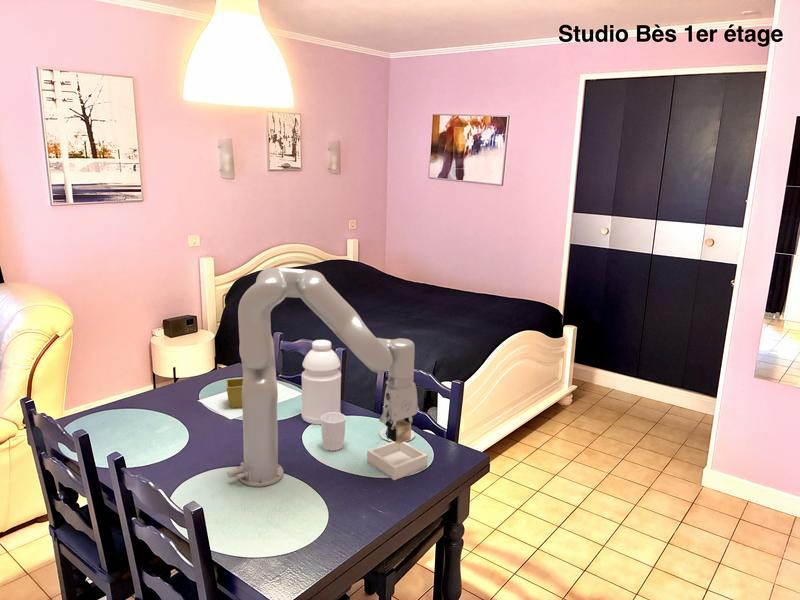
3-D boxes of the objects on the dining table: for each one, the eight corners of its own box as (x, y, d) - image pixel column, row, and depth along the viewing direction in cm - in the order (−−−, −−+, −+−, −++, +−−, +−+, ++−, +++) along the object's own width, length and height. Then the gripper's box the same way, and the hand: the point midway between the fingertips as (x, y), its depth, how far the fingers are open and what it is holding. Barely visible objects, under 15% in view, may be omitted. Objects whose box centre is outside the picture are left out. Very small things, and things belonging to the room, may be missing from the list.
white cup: (341, 453, 187) (341, 424, 185) (317, 450, 188) (317, 421, 186) (348, 442, 195) (348, 413, 192) (325, 439, 196) (325, 411, 194)
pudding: (404, 447, 193) (405, 432, 192) (372, 438, 199) (373, 423, 197) (420, 433, 204) (421, 419, 202) (390, 425, 209) (390, 411, 208)
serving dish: (394, 480, 172) (394, 467, 172) (367, 462, 182) (367, 450, 181) (427, 467, 181) (427, 455, 180) (399, 450, 190) (400, 439, 189)
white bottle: (323, 428, 203) (324, 351, 197) (293, 418, 210) (292, 343, 204) (348, 414, 215) (349, 341, 209) (318, 405, 222) (319, 334, 216)
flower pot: (226, 401, 223) (225, 378, 220) (250, 399, 225) (250, 377, 223) (227, 411, 214) (226, 387, 212) (252, 408, 217) (251, 385, 215)
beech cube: (398, 443, 176) (398, 428, 175) (387, 437, 180) (387, 422, 178) (410, 439, 179) (411, 423, 178) (400, 433, 183) (400, 418, 182)
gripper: (386, 391, 167) (384, 450, 171) (430, 378, 178) (428, 433, 182) (370, 383, 172) (369, 440, 177) (413, 370, 183) (411, 425, 187)
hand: (399, 436), depth 179 cm, fingers closed on beech cube, 5 cm apart
